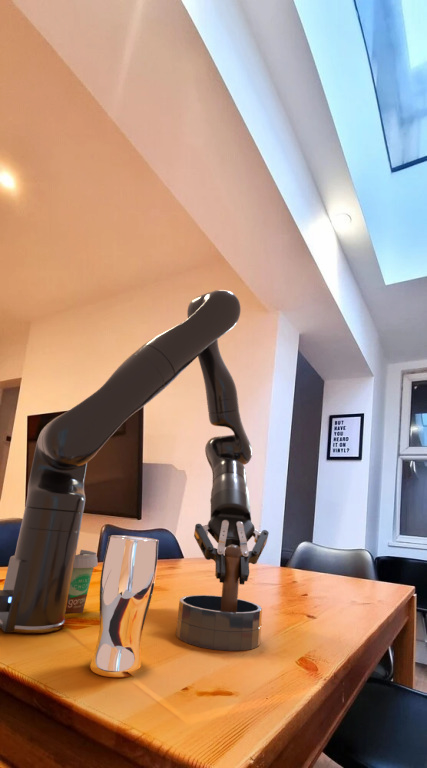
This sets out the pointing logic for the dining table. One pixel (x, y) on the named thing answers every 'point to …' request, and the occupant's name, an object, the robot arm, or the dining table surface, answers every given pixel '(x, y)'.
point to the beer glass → (124, 603)
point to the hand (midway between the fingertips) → (232, 579)
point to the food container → (81, 581)
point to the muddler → (231, 579)
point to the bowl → (218, 623)
